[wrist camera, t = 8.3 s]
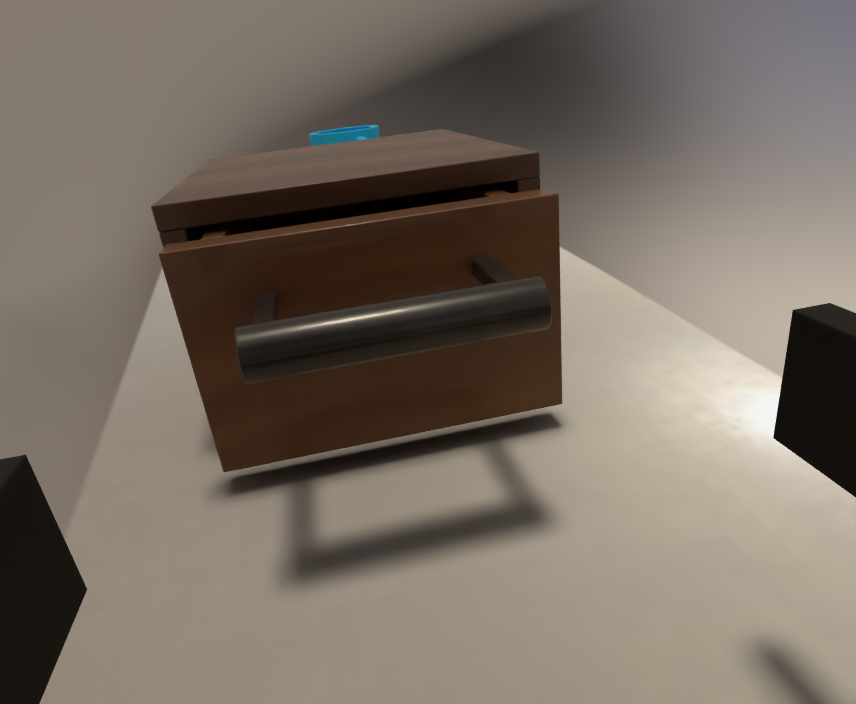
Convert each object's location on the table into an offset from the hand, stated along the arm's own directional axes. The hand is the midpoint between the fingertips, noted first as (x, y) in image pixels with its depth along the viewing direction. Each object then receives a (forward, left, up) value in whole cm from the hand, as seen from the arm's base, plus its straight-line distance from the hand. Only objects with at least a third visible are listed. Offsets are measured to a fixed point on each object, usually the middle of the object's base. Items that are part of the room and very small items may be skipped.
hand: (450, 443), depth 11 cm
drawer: (+5, +14, -6) cm, 16 cm away
